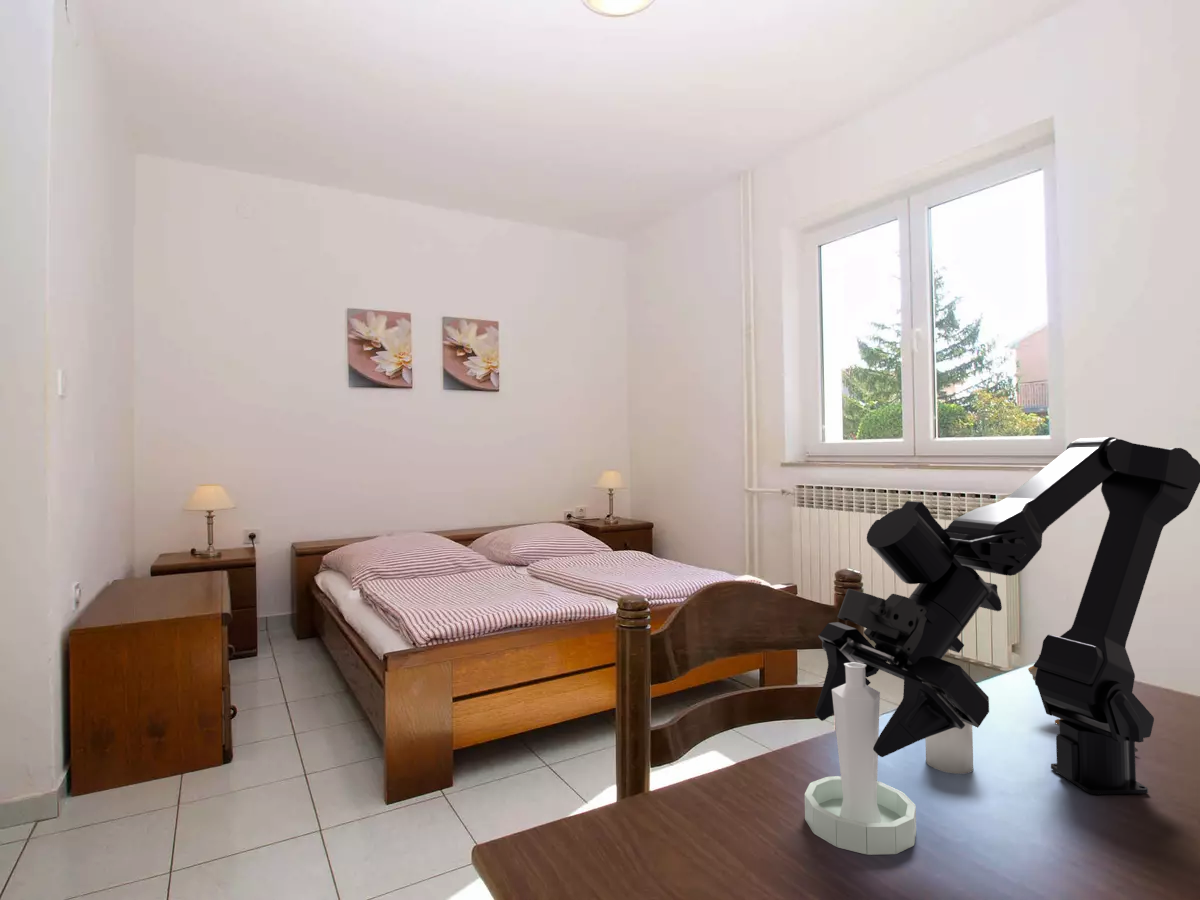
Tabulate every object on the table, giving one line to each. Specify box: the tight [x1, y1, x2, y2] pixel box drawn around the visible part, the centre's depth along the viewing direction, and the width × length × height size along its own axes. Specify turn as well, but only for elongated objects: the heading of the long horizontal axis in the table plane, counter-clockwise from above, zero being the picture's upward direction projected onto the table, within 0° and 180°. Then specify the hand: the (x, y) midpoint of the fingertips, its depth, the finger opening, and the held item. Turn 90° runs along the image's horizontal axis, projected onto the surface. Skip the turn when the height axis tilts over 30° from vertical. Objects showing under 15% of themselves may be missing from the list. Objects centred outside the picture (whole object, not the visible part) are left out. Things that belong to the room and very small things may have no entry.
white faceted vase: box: [832, 662, 881, 823], centre depth 67 cm, size 5×4×15 cm
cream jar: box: [924, 720, 974, 775], centre depth 80 cm, size 5×5×7 cm
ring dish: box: [804, 775, 917, 856], centre depth 66 cm, size 10×10×2 cm
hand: (845, 734), depth 66 cm, fingers open, 9 cm apart
